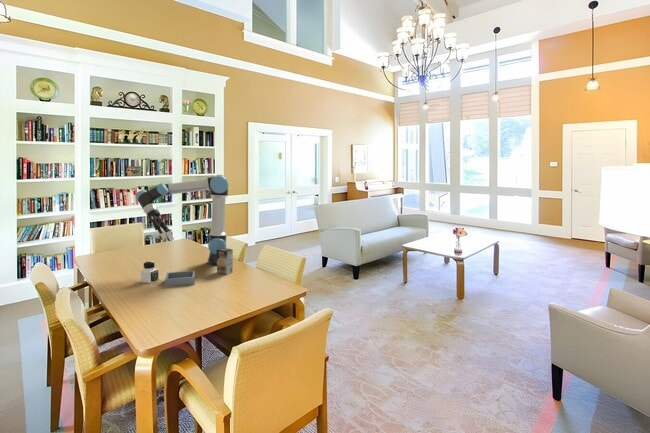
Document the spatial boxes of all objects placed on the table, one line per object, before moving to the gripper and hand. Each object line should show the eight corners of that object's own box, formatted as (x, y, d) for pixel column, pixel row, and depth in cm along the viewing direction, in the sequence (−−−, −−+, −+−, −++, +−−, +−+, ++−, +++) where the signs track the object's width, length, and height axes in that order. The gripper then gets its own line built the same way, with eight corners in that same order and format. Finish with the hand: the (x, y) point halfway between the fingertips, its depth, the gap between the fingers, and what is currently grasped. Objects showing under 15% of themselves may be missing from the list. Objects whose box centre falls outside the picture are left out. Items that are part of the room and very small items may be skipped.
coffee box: (216, 272, 240) (215, 249, 238) (222, 270, 246) (222, 247, 243) (227, 274, 236) (226, 251, 234) (233, 272, 242) (233, 249, 240)
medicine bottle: (151, 283, 217) (150, 264, 215) (140, 282, 218) (139, 263, 216) (158, 279, 224) (158, 261, 222) (148, 278, 225) (147, 260, 223)
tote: (194, 277, 229) (194, 270, 229) (194, 284, 216) (194, 277, 215) (167, 279, 224) (167, 272, 223) (165, 286, 211) (165, 279, 210)
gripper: (154, 218, 245) (170, 244, 242) (138, 211, 220) (155, 240, 218) (164, 212, 246) (180, 237, 243) (149, 205, 221) (166, 233, 219)
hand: (168, 239), depth 231 cm, fingers open, 13 cm apart
